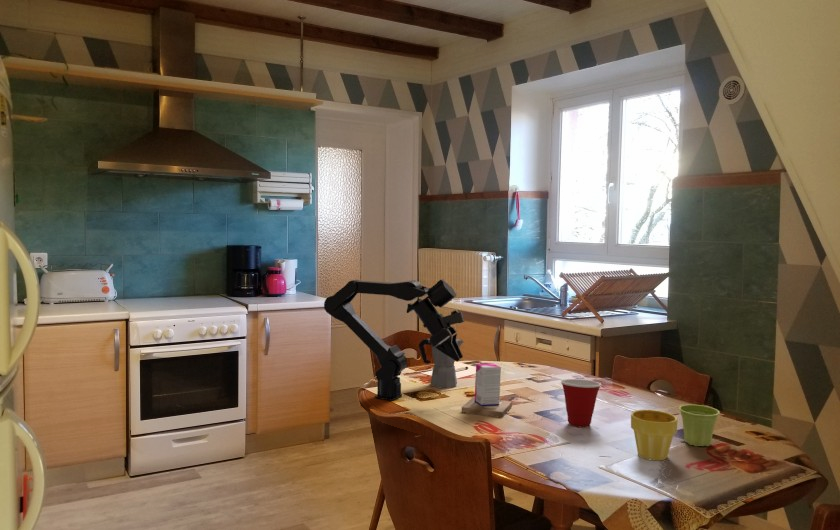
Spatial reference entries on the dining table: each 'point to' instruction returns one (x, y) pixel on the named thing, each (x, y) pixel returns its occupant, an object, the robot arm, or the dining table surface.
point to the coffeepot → (440, 366)
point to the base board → (487, 408)
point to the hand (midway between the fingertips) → (460, 359)
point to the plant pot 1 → (653, 433)
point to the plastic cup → (580, 400)
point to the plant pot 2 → (698, 424)
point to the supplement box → (487, 384)
